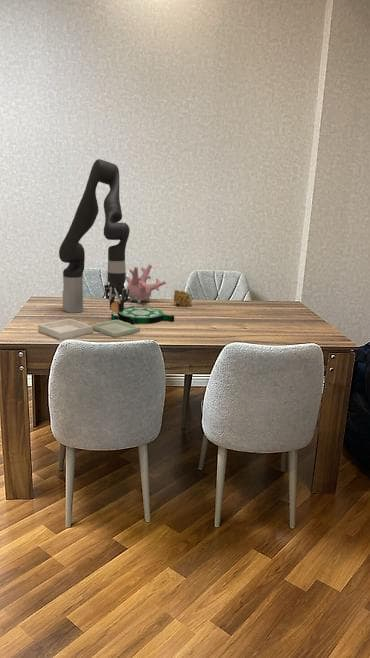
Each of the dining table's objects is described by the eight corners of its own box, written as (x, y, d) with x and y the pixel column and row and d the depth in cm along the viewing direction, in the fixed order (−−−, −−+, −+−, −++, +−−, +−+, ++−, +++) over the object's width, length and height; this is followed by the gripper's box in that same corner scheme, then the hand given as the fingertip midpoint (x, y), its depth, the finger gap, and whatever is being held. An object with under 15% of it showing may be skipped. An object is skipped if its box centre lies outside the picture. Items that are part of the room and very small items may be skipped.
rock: (178, 311, 270) (176, 294, 272) (193, 309, 268) (192, 292, 270) (174, 306, 258) (172, 288, 260) (190, 304, 257) (188, 286, 259)
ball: (108, 312, 210) (108, 301, 208) (117, 310, 213) (117, 299, 212) (116, 314, 207) (116, 303, 205) (124, 312, 210) (124, 301, 209)
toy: (136, 296, 280) (136, 261, 275) (165, 302, 269) (167, 266, 263) (114, 301, 265) (114, 264, 260) (144, 307, 254) (145, 269, 248)
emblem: (121, 304, 247) (179, 310, 242) (121, 310, 248) (179, 316, 243) (104, 316, 223) (167, 322, 218) (103, 323, 224) (167, 329, 219)
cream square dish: (38, 331, 206) (38, 324, 205) (70, 324, 217) (70, 318, 216) (60, 340, 195) (60, 333, 195) (92, 333, 207) (92, 326, 206)
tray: (91, 329, 212) (91, 324, 212) (116, 323, 222) (116, 319, 222) (115, 337, 202) (115, 333, 202) (140, 331, 212) (140, 327, 212)
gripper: (134, 272, 203) (134, 312, 208) (112, 268, 212) (112, 306, 217) (121, 274, 198) (121, 315, 203) (98, 269, 207) (99, 308, 212)
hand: (116, 310), depth 210 cm, fingers closed on ball, 5 cm apart
